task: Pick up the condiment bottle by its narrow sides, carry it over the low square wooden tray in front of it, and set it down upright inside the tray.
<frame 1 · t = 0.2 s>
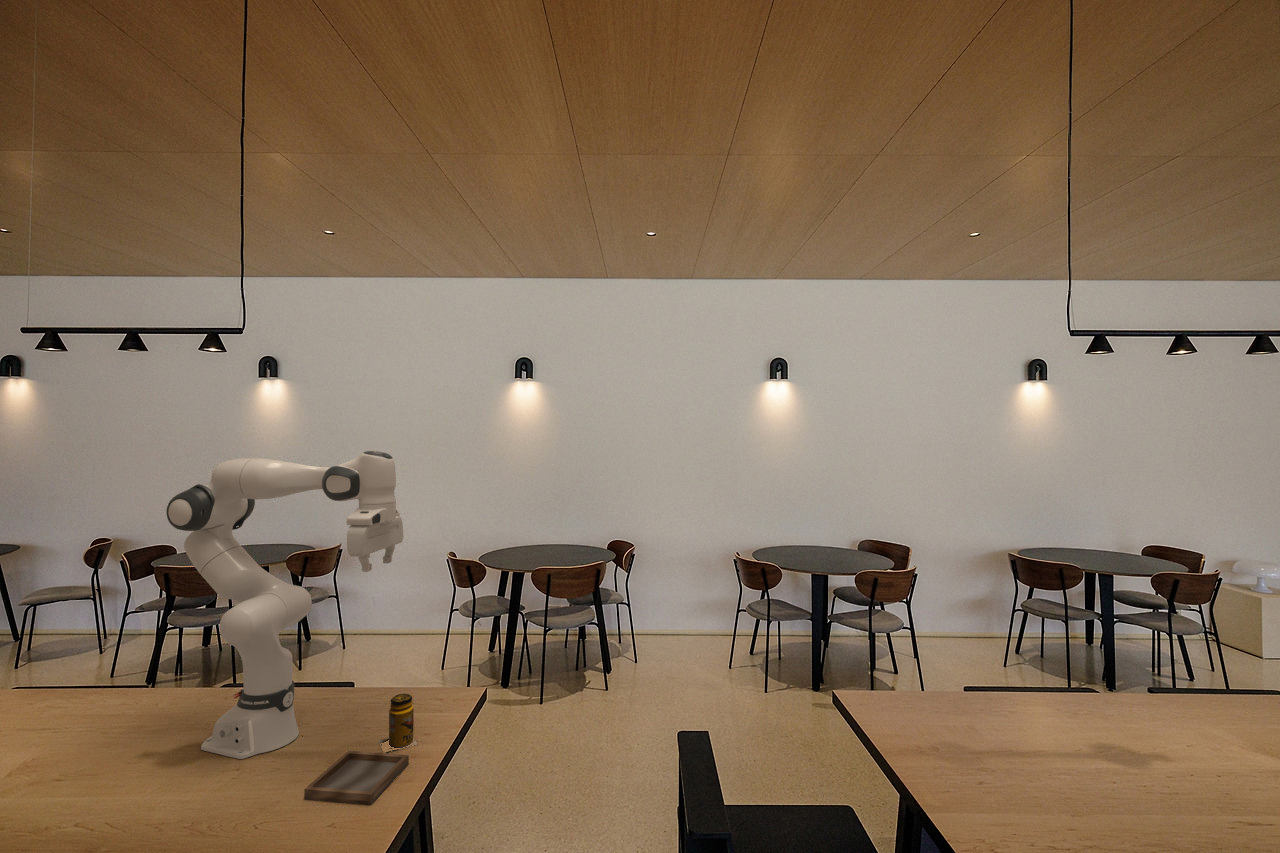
hand: (377, 566, 154), 47 cm above the table, tool pointing down, fingers open, 8 cm apart
condiment: (397, 744, 156), on the table
square wooden tray: (359, 781, 139), on the table
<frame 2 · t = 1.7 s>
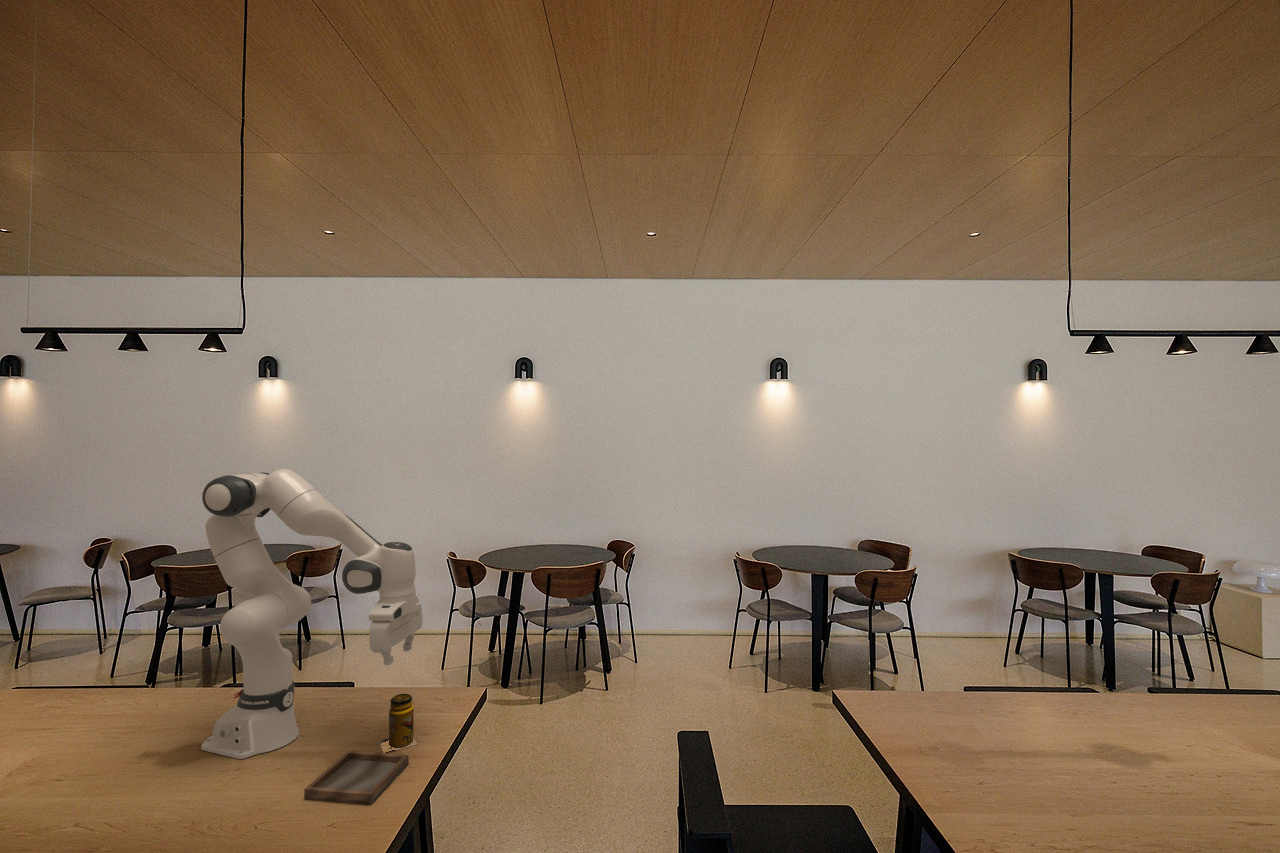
hand: (398, 657, 156), 23 cm above the table, tool pointing down, fingers open, 8 cm apart
nothing on the table moved.
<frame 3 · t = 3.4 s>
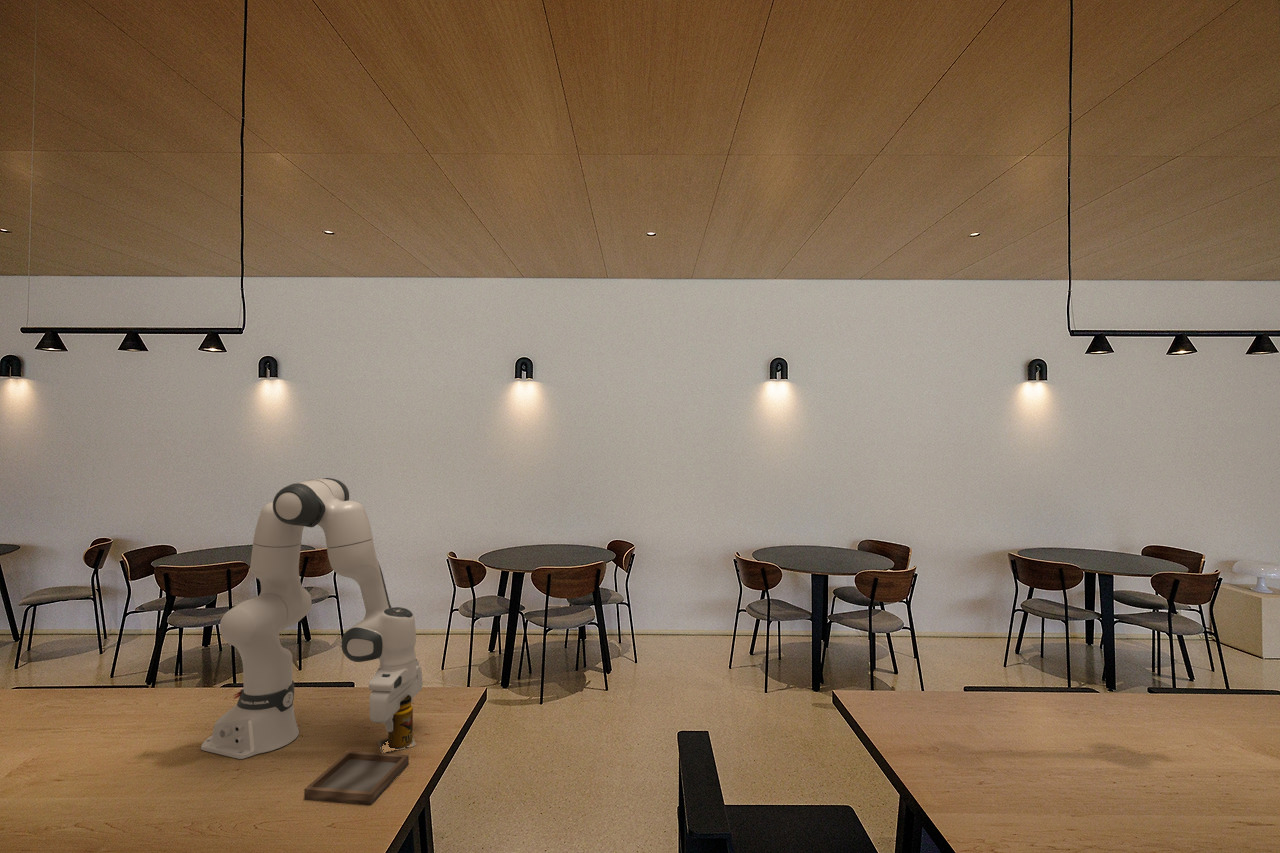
hand: (398, 723, 156), 5 cm above the table, tool pointing down, fingers closed on condiment, 6 cm apart
condiment: (396, 744, 156), on the table, touching gripper
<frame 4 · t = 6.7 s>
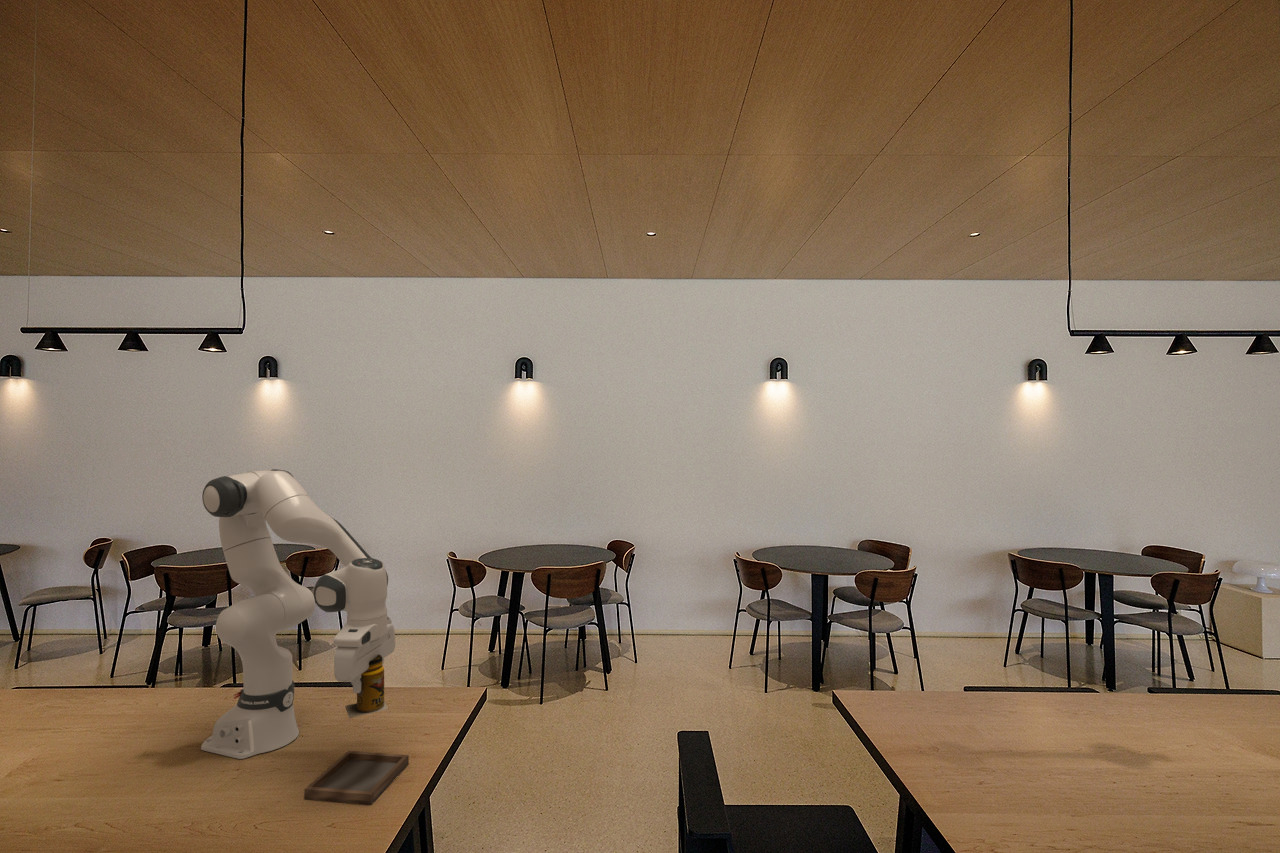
hand: (367, 685, 142), 21 cm above the table, tool pointing down, fingers closed on condiment, 6 cm apart
condiment: (366, 709, 142), point 16 cm above the table, touching gripper
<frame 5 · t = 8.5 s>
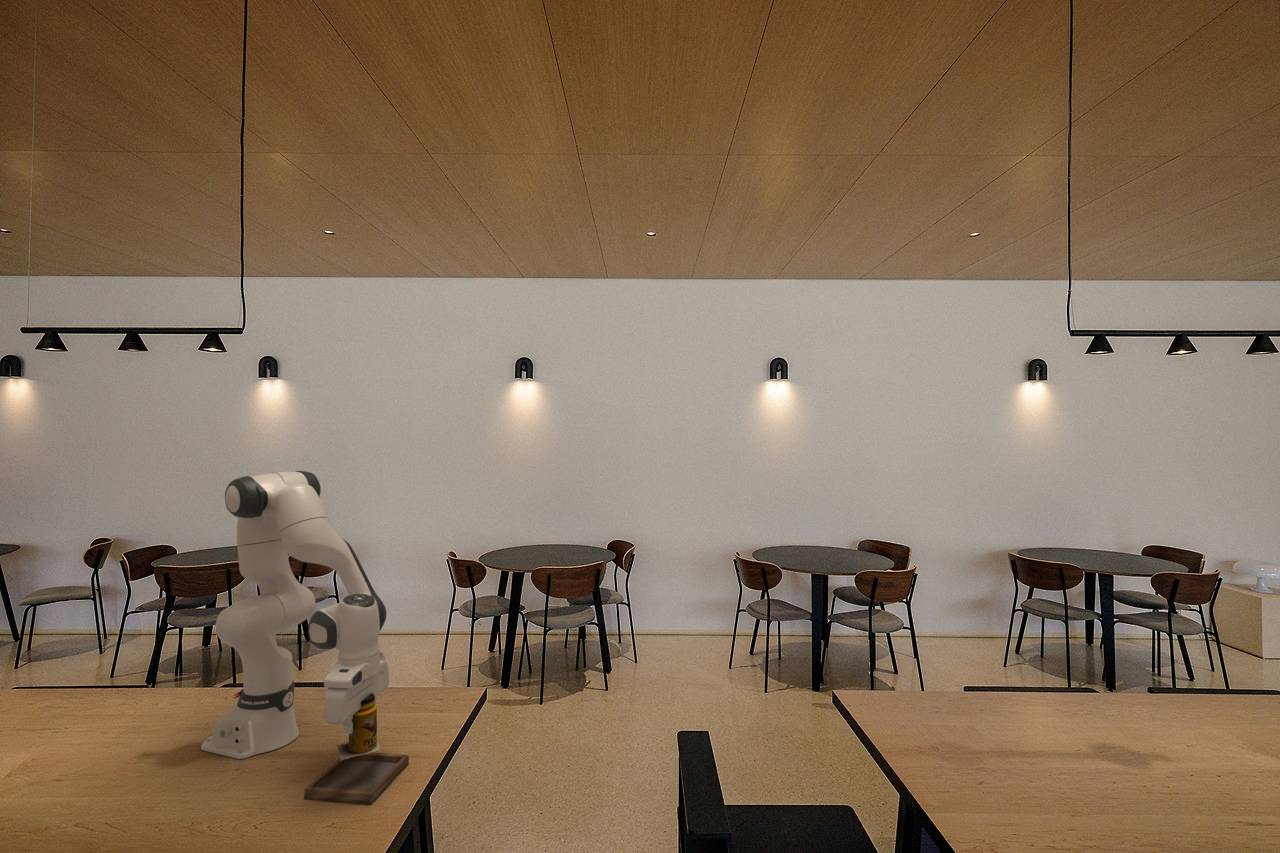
hand: (359, 724, 139), 13 cm above the table, tool pointing down, fingers closed on condiment, 6 cm apart
condiment: (358, 749, 139), point 8 cm above the table, touching gripper
when the fingers open (8 cm above the table, at t = 10.0 s): condiment drops 2 cm, resting on square wooden tray.
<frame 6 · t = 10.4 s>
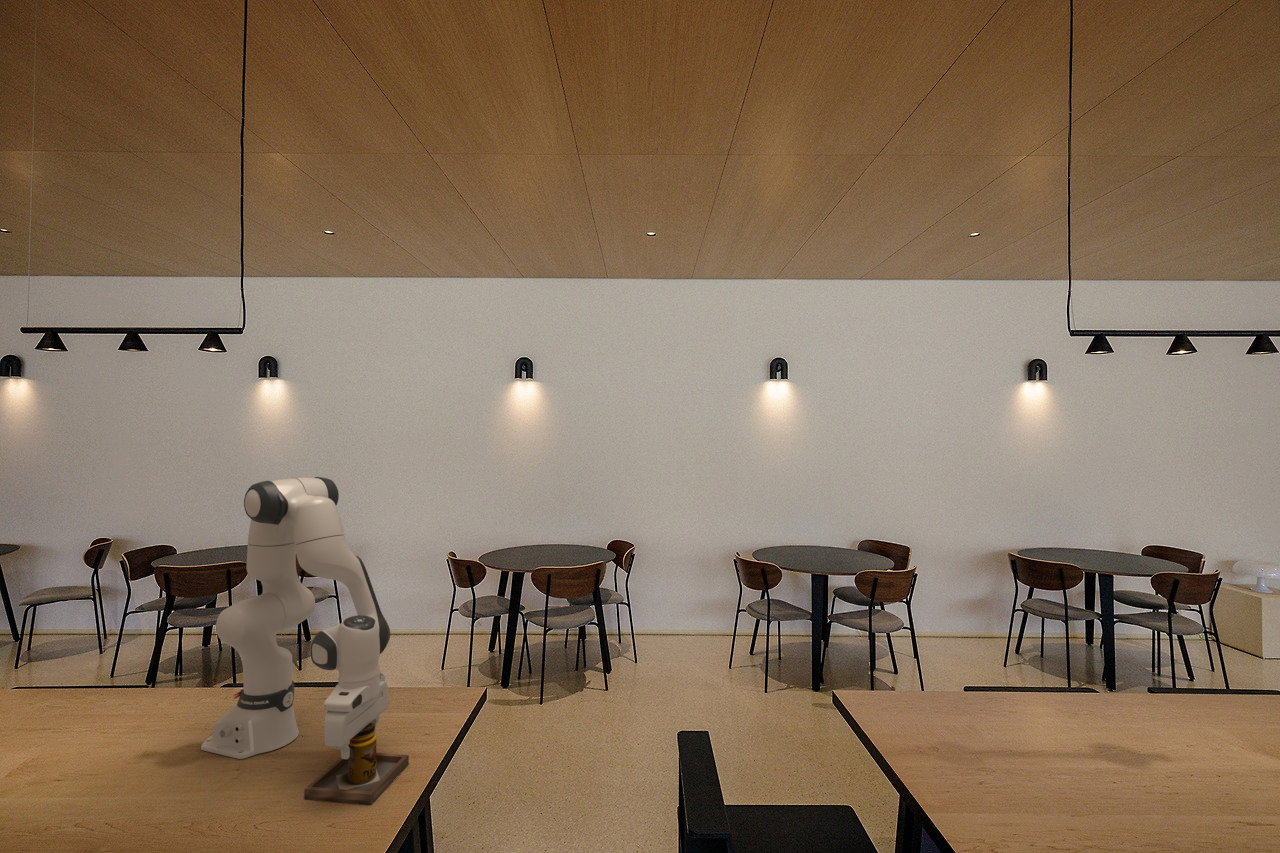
hand: (359, 746, 139), 8 cm above the table, tool pointing down, fingers open, 8 cm apart
condiment: (358, 779, 139), point 1 cm above the table, touching square wooden tray
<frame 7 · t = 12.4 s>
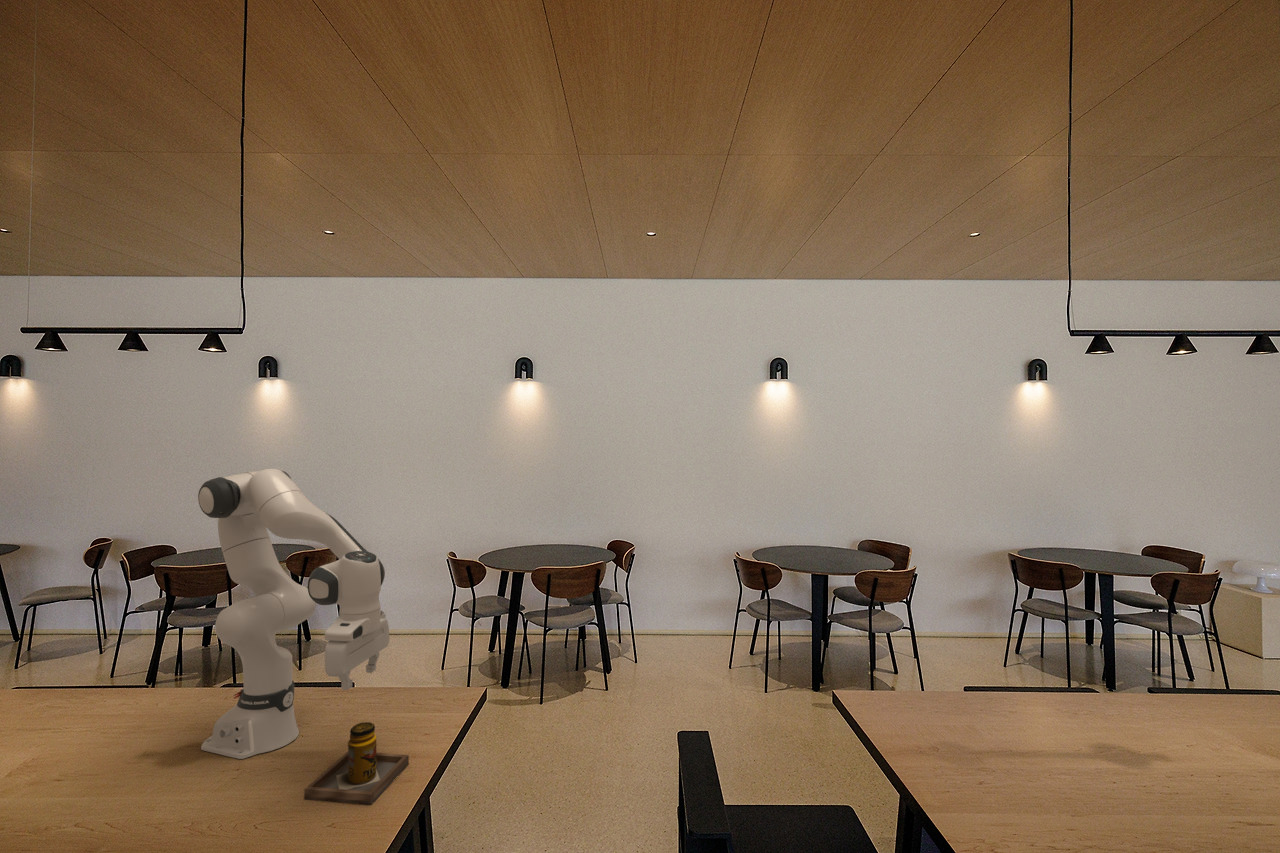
hand: (359, 679, 140), 23 cm above the table, tool pointing down, fingers open, 8 cm apart
nothing on the table moved.
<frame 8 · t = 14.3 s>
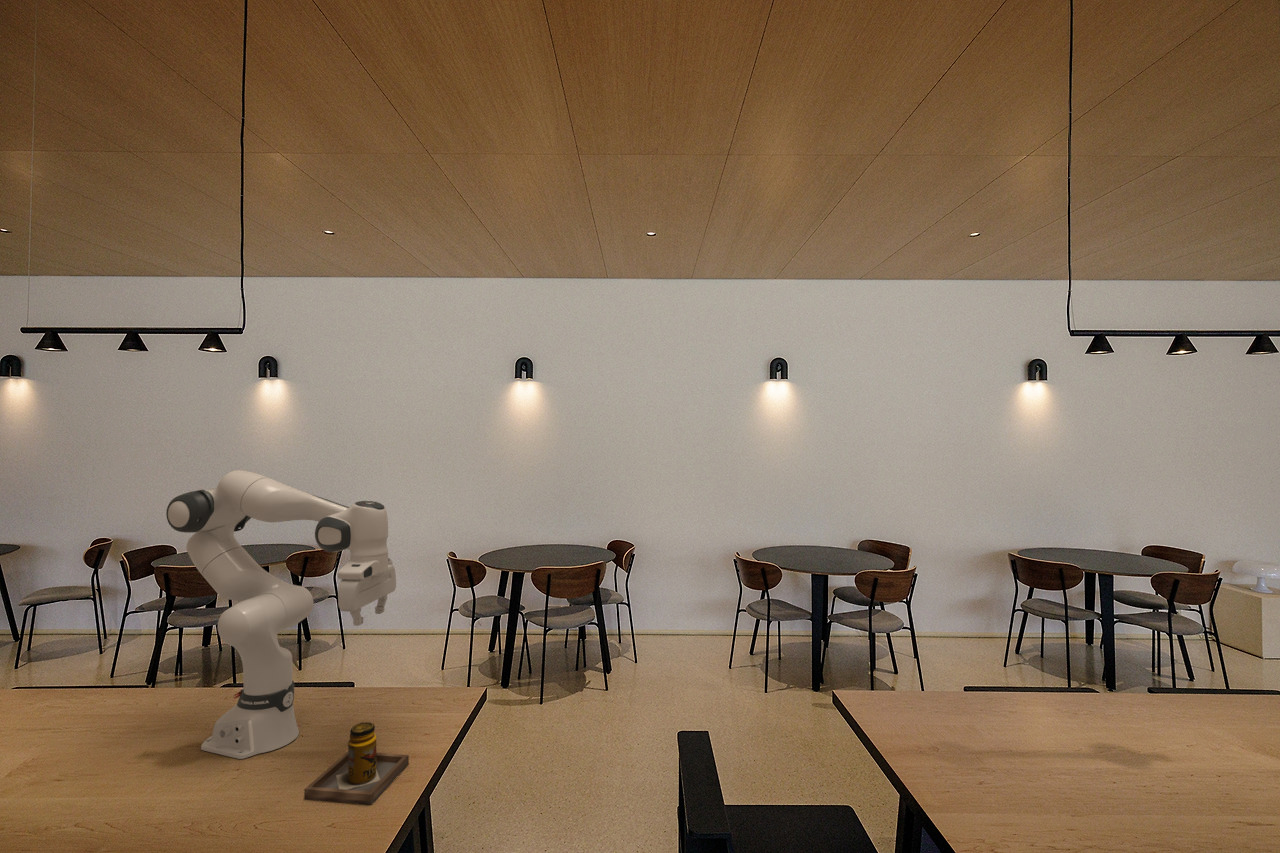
hand: (369, 618, 152), 34 cm above the table, tool pointing down, fingers open, 8 cm apart
nothing on the table moved.
at the end: condiment inside the target area on the square wooden tray (0.4 cm from its centre), point 0.6 cm above the square wooden tray's base; condiment tilted 0°; the gripper is holding nothing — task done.
